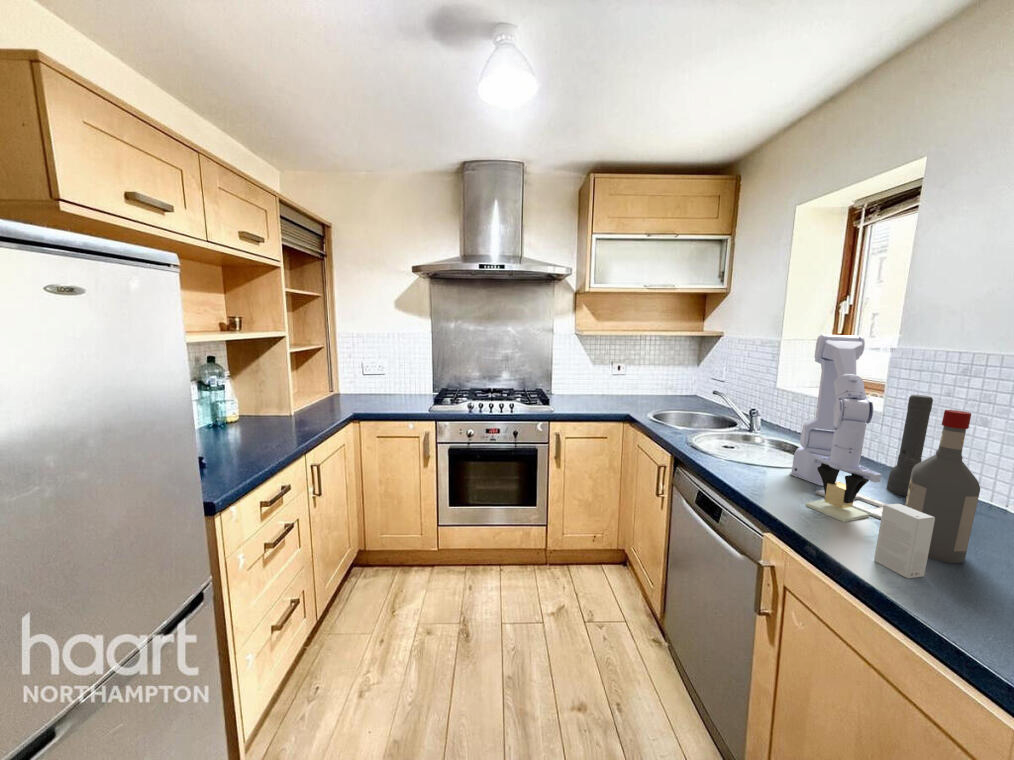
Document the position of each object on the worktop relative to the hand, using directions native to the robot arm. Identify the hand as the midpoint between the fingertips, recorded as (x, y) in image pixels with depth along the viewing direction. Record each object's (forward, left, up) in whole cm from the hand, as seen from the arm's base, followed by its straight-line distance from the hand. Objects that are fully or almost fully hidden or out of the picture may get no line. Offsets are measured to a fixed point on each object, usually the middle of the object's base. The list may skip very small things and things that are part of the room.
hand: (838, 498), depth 101 cm
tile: (0, 0, -3) cm, 3 cm away
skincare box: (+20, -15, -4) cm, 25 cm away
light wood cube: (0, 0, -2) cm, 2 cm away
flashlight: (-2, +33, -4) cm, 33 cm away
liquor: (+18, 0, -4) cm, 18 cm away
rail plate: (0, +11, -3) cm, 12 cm away
